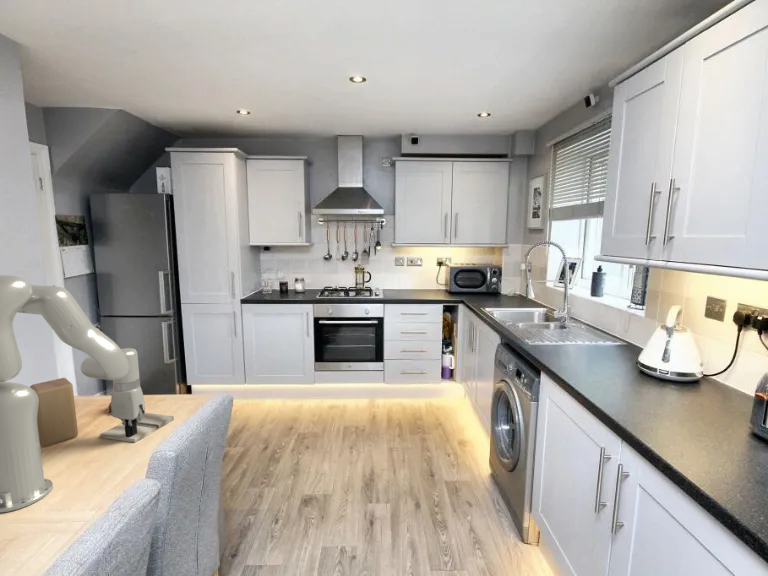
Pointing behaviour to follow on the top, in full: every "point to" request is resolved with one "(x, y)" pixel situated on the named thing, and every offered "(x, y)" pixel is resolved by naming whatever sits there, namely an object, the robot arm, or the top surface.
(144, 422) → the laid board
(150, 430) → the loose plank
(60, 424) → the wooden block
